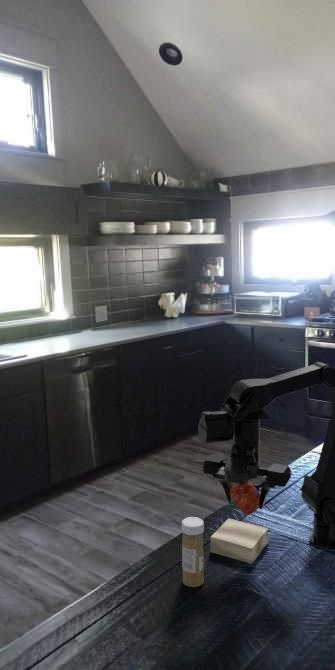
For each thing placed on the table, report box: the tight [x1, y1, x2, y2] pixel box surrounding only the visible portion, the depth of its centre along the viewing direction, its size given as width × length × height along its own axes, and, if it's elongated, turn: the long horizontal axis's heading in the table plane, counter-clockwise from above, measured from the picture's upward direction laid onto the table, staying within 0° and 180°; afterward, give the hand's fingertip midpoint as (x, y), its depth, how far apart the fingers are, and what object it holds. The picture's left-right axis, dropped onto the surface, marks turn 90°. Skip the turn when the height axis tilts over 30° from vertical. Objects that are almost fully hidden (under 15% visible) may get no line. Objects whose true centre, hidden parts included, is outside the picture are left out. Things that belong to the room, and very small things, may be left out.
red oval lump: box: [225, 481, 261, 515], centre depth 126 cm, size 7×7×10 cm
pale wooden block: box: [210, 518, 269, 565], centre depth 131 cm, size 10×10×4 cm
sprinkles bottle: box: [181, 516, 205, 588], centre depth 117 cm, size 5×5×14 cm
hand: (245, 505), depth 127 cm, fingers closed on red oval lump, 7 cm apart
